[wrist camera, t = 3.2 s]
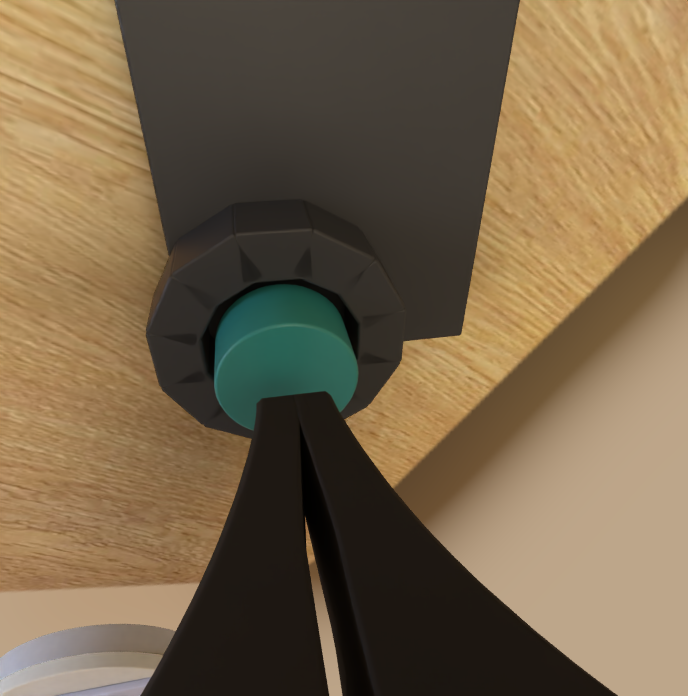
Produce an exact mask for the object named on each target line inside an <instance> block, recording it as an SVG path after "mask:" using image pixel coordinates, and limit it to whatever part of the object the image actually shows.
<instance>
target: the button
mask: <svg viewBox="0 0 688 696" xmlns="http://www.w3.org/2000/svg"><path fill="white" fill-rule="evenodd" d="M357 382H358V365H357V360H356V357H355V354H354V351H353V348H352V345H351V343H350V340H349V337H348V334H347V331H346V328H345V325H344V322H343V319H342V317H341V315H340V313H339V311H338V310H337V308H336V307H335V306H334V305H333V303H332V302H330V301H329V300H328V299H327V298H326V297H324V296H323V295H321V294H320V293H318V292H316V291H314V290H312V289H309V288H306V287H303V286H298V285H290V284H276V285H269V286H265V287H261V288H258V289H256V290H253V291H251V292H249V293H247V294H245V295H243V296H242V297H240V298H239V299H238V300H236V301H235V302H234V303H233V304H232V305H231V306H230V307H229V308H228V309H227V310H226V312H225V313H224V315H223V316H222V318H221V320H220V322H219V324H218V327H217V331H216V338H215V367H214V388H215V393H216V397H217V399H218V401H219V404H220V405H221V407H222V408H223V410H224V411H225V412H226V413H227V415H228V416H229V417H230V418H232V419H233V420H234V421H235V422H237V423H238V424H240V425H242V426H243V427H246V428H248V429H250V430H253V431H254V425H255V418H256V403H258V402H259V401H260V400H261V399H262V398H268V397H277V396H286V395H294V394H303V393H312V392H320V391H326V392H328V393H329V394H330V395H331V396H332V398H333V400H334V402H335V404H336V406H337V408H338V410H339V412H341V411H342V410H343V409H344V408H345V407H346V405H347V404H348V403H349V401H350V400H351V398H352V396H353V394H354V392H355V389H356V386H357Z"/></svg>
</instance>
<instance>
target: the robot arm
mask: <svg viewBox="0 0 688 696" xmlns="http://www.w3.org/2000/svg"><path fill="white" fill-rule="evenodd" d="M305 517H306V522H307V526H308V530H309V534H310V539H311V543H312V547H313V551H314V556H315V560H316V564H317V568H318V573H319V576H320V581H321V585H322V590H323V594H324V598H325V602H326V606H327V611H328V615H329V619H330V623H331V628H332V633H333V638H334V643H335V648H336V654H337V661H338V668H339V674H340V681H341V688H342V694H343V696H617V695H616V694H615V693H613V692H612V691H611V690H609V689H608V688H607V687H605V686H604V685H603V684H601V683H600V682H599V681H597V680H596V679H595V678H593V677H592V676H591V675H590V674H588V673H587V672H586V671H584V670H583V669H582V668H581V667H579V666H578V665H577V664H575V663H574V662H573V661H572V660H570V659H569V658H568V657H567V656H566V655H564V654H563V653H562V652H561V651H559V650H558V649H557V648H556V647H554V646H553V645H552V644H550V643H549V642H548V641H547V640H546V639H545V638H543V637H542V636H541V635H540V634H538V633H537V632H536V631H535V630H533V629H532V628H531V627H530V626H529V625H528V624H527V623H526V622H525V621H523V620H522V619H521V618H520V617H519V616H517V614H515V613H514V612H513V611H512V610H511V609H510V608H509V607H508V606H506V605H505V604H504V603H503V602H502V601H501V600H499V599H498V598H497V597H496V596H495V595H494V594H493V593H492V592H490V591H489V590H488V589H487V588H486V587H485V586H484V585H483V584H481V583H480V582H479V581H478V580H477V579H476V578H475V577H474V576H473V575H472V574H471V573H470V572H469V571H468V570H467V569H466V568H465V567H464V566H463V565H462V564H461V563H460V562H459V561H458V560H457V559H456V558H454V556H453V555H451V553H450V552H449V551H448V550H447V549H446V548H445V547H444V546H443V545H442V544H441V543H440V542H439V541H438V540H437V539H436V538H435V537H434V536H433V535H432V533H431V532H430V531H429V530H428V529H427V528H426V527H425V526H424V525H423V524H422V523H421V521H420V520H419V519H418V518H417V517H416V516H415V515H414V513H413V512H412V511H411V510H410V509H409V508H408V506H407V505H406V504H405V503H404V501H403V500H402V499H401V498H400V497H399V496H398V494H397V493H396V492H395V491H394V489H393V488H392V487H391V486H390V484H389V483H388V482H387V481H386V479H385V478H384V477H383V475H382V474H381V473H380V471H379V470H378V469H377V467H376V466H375V465H374V463H373V462H372V460H371V459H370V458H369V456H368V455H367V454H366V452H365V451H364V449H363V448H362V447H361V445H360V444H359V442H358V441H357V439H356V438H355V436H354V435H353V433H352V431H351V430H350V428H349V427H348V425H347V424H346V422H345V420H344V419H343V417H342V415H341V413H340V412H339V410H338V408H337V406H336V404H335V402H334V400H333V398H332V396H331V395H330V394H329V393H328V392H326V391H320V392H312V393H303V394H294V395H286V396H277V397H268V398H262V399H261V400H260V401H259V402H258V403H256V418H255V425H254V431H253V436H252V440H251V444H250V449H249V453H248V457H247V460H246V463H245V467H244V470H243V473H242V477H241V480H240V483H239V487H238V490H237V493H236V496H235V499H234V501H233V504H232V507H231V509H230V512H229V515H228V517H227V520H226V523H225V525H224V528H223V530H222V533H221V536H220V538H219V541H218V543H217V546H216V548H215V550H214V553H213V555H212V557H211V560H210V562H209V564H208V566H207V569H206V571H205V573H204V575H203V577H202V580H201V582H200V584H199V586H198V588H197V590H196V592H195V595H194V597H193V599H192V601H191V603H190V605H189V607H188V609H187V611H186V613H185V615H184V616H183V619H182V621H181V623H180V624H179V627H178V628H177V630H176V632H175V634H174V636H173V638H172V640H171V642H170V644H169V646H168V648H167V649H166V651H165V653H164V655H163V657H162V659H161V660H160V662H159V664H158V666H157V668H156V670H155V671H154V673H153V675H152V677H149V678H144V679H139V680H133V681H128V682H123V683H118V684H113V685H107V686H102V687H97V688H92V689H87V690H82V691H76V692H71V693H66V694H61V695H56V696H329V692H328V685H327V679H326V673H325V667H324V661H323V655H322V649H321V642H320V635H319V629H318V623H317V616H316V610H315V603H314V597H313V591H312V584H311V578H310V571H309V564H308V558H307V551H306V529H305Z"/></svg>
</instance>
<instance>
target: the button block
mask: <svg viewBox="0 0 688 696" xmlns="http://www.w3.org/2000/svg"><path fill="white" fill-rule="evenodd" d="M114 1H115V5H116V10H117V15H118V19H119V24H120V29H121V33H122V38H123V43H124V48H125V52H126V57H127V62H128V66H129V71H130V76H131V80H132V85H133V90H134V95H135V99H136V104H137V109H138V113H139V118H140V123H141V128H142V132H143V137H144V142H145V146H146V151H147V156H148V160H149V165H150V170H151V175H152V179H153V184H154V189H155V193H156V198H157V203H158V207H159V212H160V217H161V222H162V226H163V231H164V236H165V240H166V245H167V250H168V255H169V259H168V261H167V264H166V266H165V268H164V271H163V273H162V275H161V278H160V280H159V282H158V285H157V287H156V290H155V292H154V295H153V300H152V304H151V309H150V313H149V318H148V322H147V327H146V338H147V342H148V345H149V349H150V353H151V356H152V360H153V364H154V368H155V371H156V375H157V379H158V382H159V385H160V386H161V388H162V390H163V391H164V392H165V393H166V394H167V395H168V396H170V397H171V398H172V399H173V400H174V401H175V402H177V403H178V404H179V405H180V406H181V407H182V408H184V409H185V410H186V411H187V412H188V413H189V414H190V415H192V416H193V417H194V418H195V419H196V420H197V421H199V422H200V423H201V424H203V425H204V426H205V427H208V428H212V429H216V430H220V431H224V432H228V433H232V434H235V435H239V436H243V437H247V438H251V439H252V436H253V430H250V429H248V428H246V427H243V426H242V425H240V424H238V423H237V422H235V421H234V420H233V419H232V418H230V417H229V416H228V415H227V413H226V412H225V411H224V410H223V408H222V407H221V405H220V404H219V401H218V399H217V397H216V393H215V388H214V367H215V338H216V331H217V327H218V324H219V322H220V320H221V318H222V316H223V315H224V313H225V312H226V310H227V309H228V308H229V307H230V306H231V305H232V304H233V303H234V302H235V301H236V300H238V299H239V298H240V297H242V296H243V295H245V294H247V293H249V292H251V291H253V290H256V289H258V288H261V287H265V286H269V285H276V284H290V285H298V286H303V287H306V288H309V289H312V290H314V291H316V292H318V293H320V294H321V295H323V296H324V297H326V298H327V299H328V300H329V301H330V302H332V303H333V305H334V306H335V307H336V308H337V310H338V311H339V313H340V315H341V317H342V319H343V322H344V325H345V328H346V331H347V334H348V337H349V340H350V343H351V345H352V348H353V351H354V354H355V357H356V360H357V365H358V382H357V386H356V389H355V392H354V394H353V396H352V398H351V400H350V401H349V403H348V404H347V405H346V407H345V408H344V409H343V410H342V411H341V412H340V413H341V415H342V417H343V419H346V418H347V417H349V416H351V415H353V414H355V413H357V412H358V411H360V410H362V409H364V408H366V407H367V406H368V405H369V404H370V403H371V402H372V400H373V399H374V398H375V396H376V395H377V394H378V392H379V391H380V390H381V388H382V387H383V386H384V384H385V383H386V382H387V380H388V379H389V378H390V376H391V375H392V374H393V372H394V371H395V370H396V368H397V367H398V365H399V364H400V361H401V359H402V349H403V341H409V340H419V339H429V338H438V337H448V336H458V335H461V332H462V326H463V321H464V315H465V309H466V304H467V298H468V292H469V286H470V281H471V275H472V269H473V264H474V258H475V252H476V247H477V241H478V235H479V230H480V224H481V218H482V212H483V207H484V201H485V195H486V190H487V184H488V178H489V173H490V167H491V161H492V156H493V150H494V144H495V138H496V133H497V127H498V121H499V116H500V110H501V104H502V99H503V93H504V87H505V82H506V76H507V70H508V64H509V59H510V53H511V47H512V42H513V36H514V30H515V25H516V19H517V13H518V8H519V2H520V0H114Z"/></svg>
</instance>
